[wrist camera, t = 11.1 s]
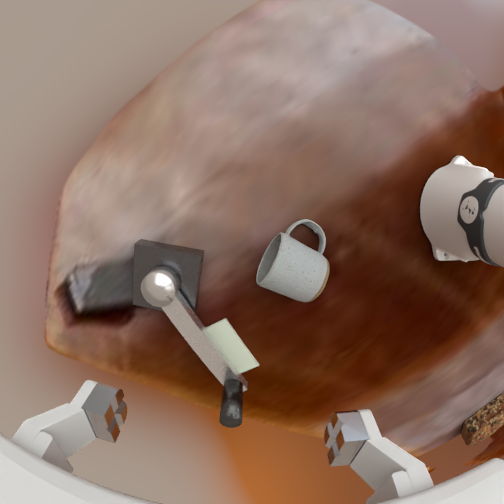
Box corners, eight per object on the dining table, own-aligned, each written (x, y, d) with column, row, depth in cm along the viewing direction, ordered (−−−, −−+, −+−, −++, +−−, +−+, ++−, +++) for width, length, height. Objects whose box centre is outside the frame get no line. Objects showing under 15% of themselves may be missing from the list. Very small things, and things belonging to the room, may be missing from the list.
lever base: (140, 239, 41) (134, 243, 38) (203, 250, 41) (201, 255, 39) (138, 297, 44) (132, 304, 41) (196, 309, 44) (193, 317, 42)
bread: (502, 390, 55) (516, 407, 46) (497, 407, 58) (509, 423, 49) (462, 420, 58) (475, 439, 48) (458, 434, 60) (470, 453, 51)
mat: (185, 336, 46) (185, 338, 45) (225, 317, 45) (225, 319, 44) (221, 379, 48) (220, 381, 48) (259, 364, 47) (259, 365, 47)
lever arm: (141, 275, 40) (112, 306, 30) (167, 260, 39) (142, 289, 29) (227, 388, 46) (223, 432, 36) (252, 379, 45) (252, 423, 35)
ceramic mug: (302, 292, 43) (312, 316, 36) (254, 272, 42) (255, 293, 35) (334, 232, 41) (352, 244, 33) (286, 207, 40) (294, 215, 32)
